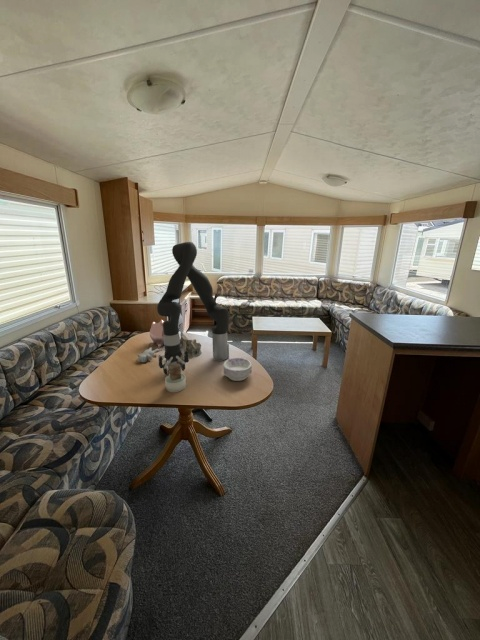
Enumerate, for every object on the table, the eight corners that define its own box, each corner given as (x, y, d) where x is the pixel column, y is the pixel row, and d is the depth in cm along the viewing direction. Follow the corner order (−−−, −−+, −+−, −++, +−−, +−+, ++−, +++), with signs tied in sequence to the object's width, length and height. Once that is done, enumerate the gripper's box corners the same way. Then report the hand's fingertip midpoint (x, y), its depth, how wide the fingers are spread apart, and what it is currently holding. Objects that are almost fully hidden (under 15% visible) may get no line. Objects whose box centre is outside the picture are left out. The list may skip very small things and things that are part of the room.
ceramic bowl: (182, 379, 139) (181, 371, 137) (188, 388, 130) (188, 379, 129) (163, 385, 134) (162, 375, 132) (168, 394, 126) (167, 384, 124)
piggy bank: (166, 337, 199) (165, 317, 194) (177, 344, 186) (176, 323, 181) (147, 342, 189) (144, 321, 185) (157, 349, 176) (154, 327, 171)
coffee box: (178, 372, 146) (176, 346, 141) (168, 371, 147) (165, 345, 142) (185, 365, 154) (183, 340, 150) (175, 364, 156) (172, 339, 151)
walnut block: (178, 374, 134) (177, 364, 132) (181, 378, 130) (180, 367, 128) (169, 376, 132) (168, 366, 130) (172, 380, 128) (171, 369, 126)
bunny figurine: (132, 356, 157) (147, 344, 170) (134, 363, 159) (149, 351, 172) (146, 358, 155) (160, 346, 168) (147, 365, 157) (161, 353, 170)
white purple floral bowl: (227, 386, 132) (226, 372, 130) (221, 372, 146) (220, 359, 144) (255, 381, 136) (255, 368, 134) (247, 368, 150) (247, 356, 148)
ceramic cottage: (170, 358, 163) (170, 336, 158) (182, 349, 178) (183, 328, 174) (193, 363, 159) (193, 340, 155) (203, 353, 174) (204, 332, 170)
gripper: (184, 337, 131) (186, 366, 136) (155, 342, 125) (158, 372, 130) (188, 341, 125) (190, 372, 130) (158, 347, 118) (162, 379, 123)
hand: (174, 372), depth 130 cm, fingers open, 8 cm apart
